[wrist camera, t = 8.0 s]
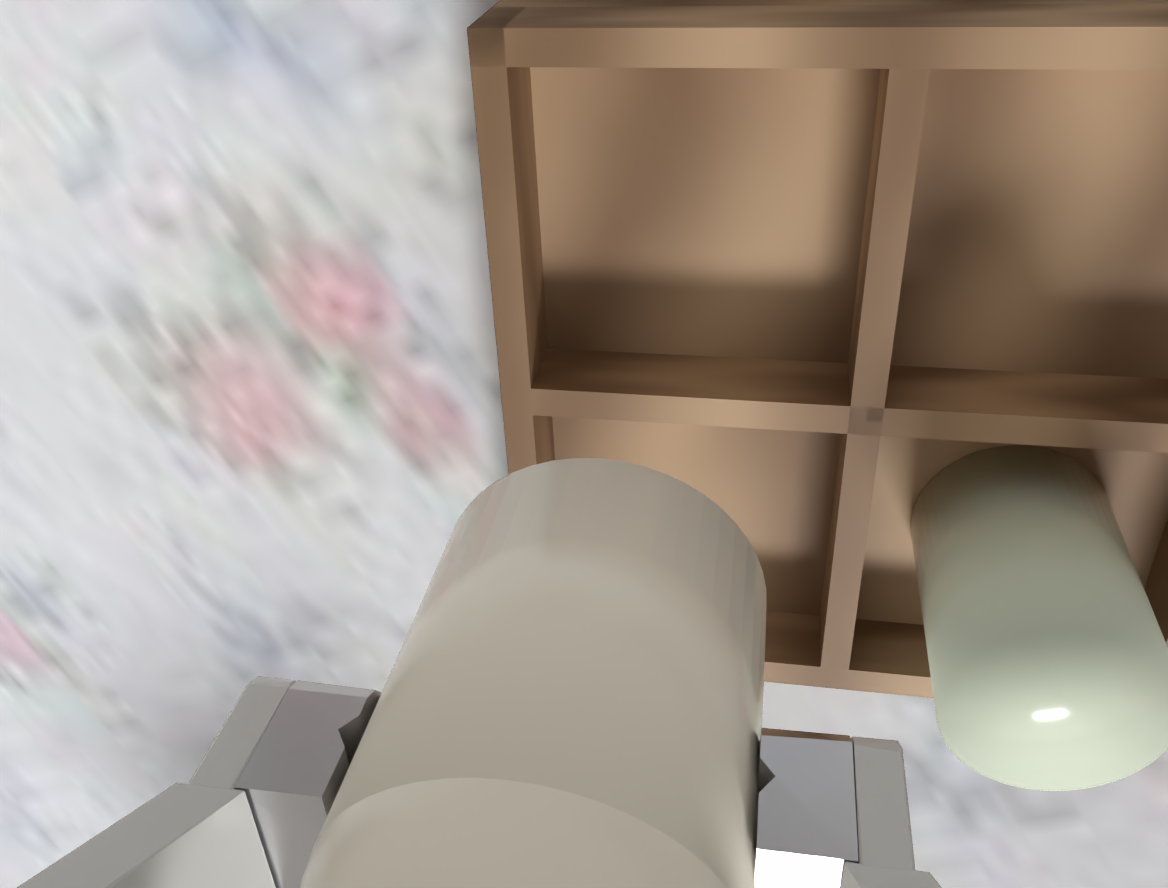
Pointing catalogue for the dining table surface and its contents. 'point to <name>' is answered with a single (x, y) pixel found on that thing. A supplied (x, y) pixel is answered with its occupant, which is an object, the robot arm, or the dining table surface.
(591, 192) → the caddy
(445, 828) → the ceramic shaker
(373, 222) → the dining table surface
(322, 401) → the dining table surface
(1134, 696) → the sage jar
